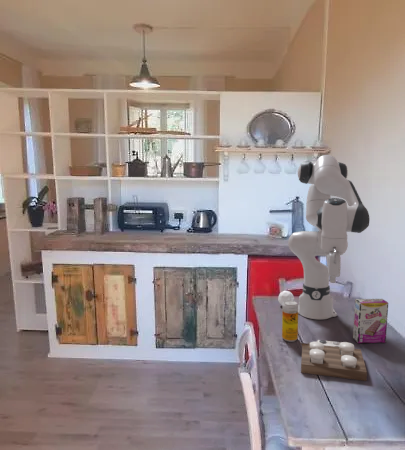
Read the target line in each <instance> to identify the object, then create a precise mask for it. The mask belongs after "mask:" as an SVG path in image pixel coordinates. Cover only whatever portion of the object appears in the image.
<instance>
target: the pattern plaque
mask: <svg viewBox="0 0 405 450" xmlns="http://www.w3.org/2000/svg"><path fill="white" fill-rule="evenodd" d="M316 342H320V343H323V344H324V345H325V346H335V347H339V346H340V343H341V342H342V341H340V342H339V341H332V340H323V339H317V341H316Z"/></svg>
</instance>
